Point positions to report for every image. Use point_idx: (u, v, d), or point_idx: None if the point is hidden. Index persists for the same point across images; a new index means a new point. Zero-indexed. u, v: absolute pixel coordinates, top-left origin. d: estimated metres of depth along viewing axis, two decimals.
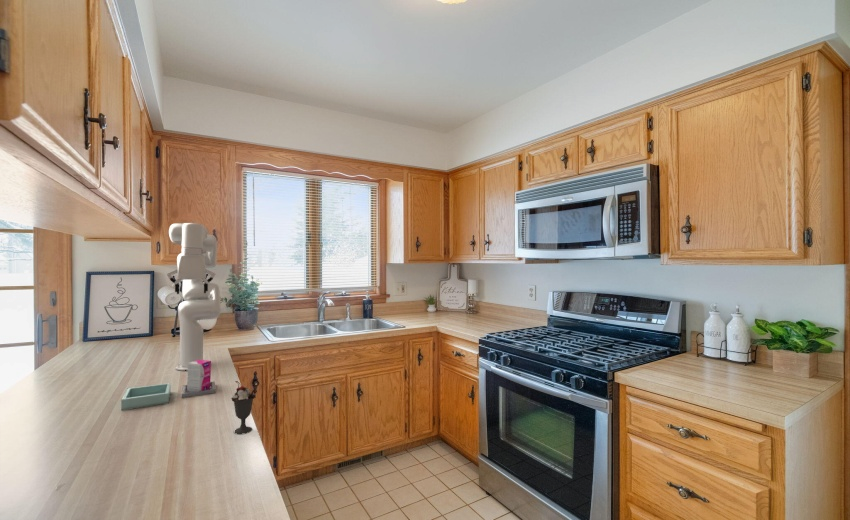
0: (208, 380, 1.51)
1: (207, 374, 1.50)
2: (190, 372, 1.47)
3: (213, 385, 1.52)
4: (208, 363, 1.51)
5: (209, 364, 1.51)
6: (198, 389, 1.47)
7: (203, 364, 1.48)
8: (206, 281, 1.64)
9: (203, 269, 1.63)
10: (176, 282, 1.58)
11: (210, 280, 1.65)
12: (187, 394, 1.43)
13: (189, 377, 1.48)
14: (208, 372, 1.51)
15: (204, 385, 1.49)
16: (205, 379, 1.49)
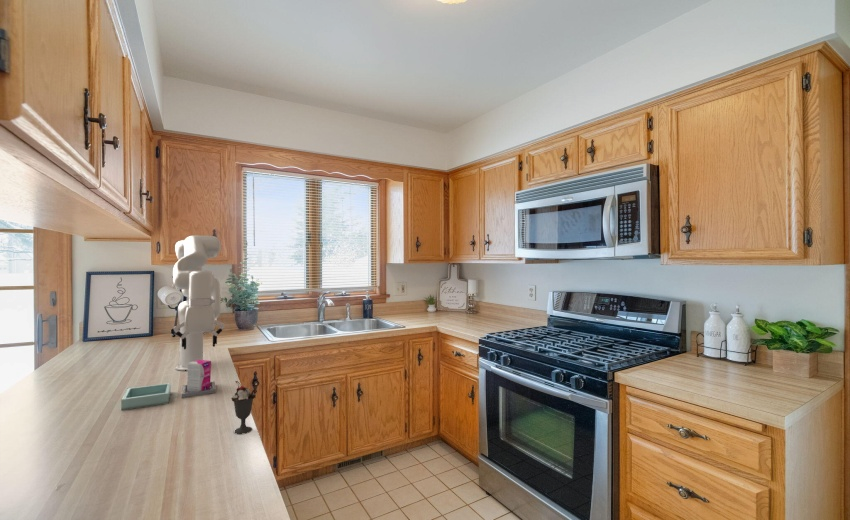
0: (208, 380, 1.51)
1: (207, 374, 1.50)
2: (190, 372, 1.47)
3: (213, 385, 1.52)
4: (208, 363, 1.51)
5: (209, 364, 1.51)
6: (198, 389, 1.47)
7: (203, 364, 1.48)
8: (215, 333, 1.51)
9: (212, 321, 1.50)
10: (183, 336, 1.46)
11: (219, 332, 1.53)
12: (187, 394, 1.43)
13: (189, 377, 1.48)
14: (208, 372, 1.51)
15: (204, 385, 1.49)
16: (205, 379, 1.49)
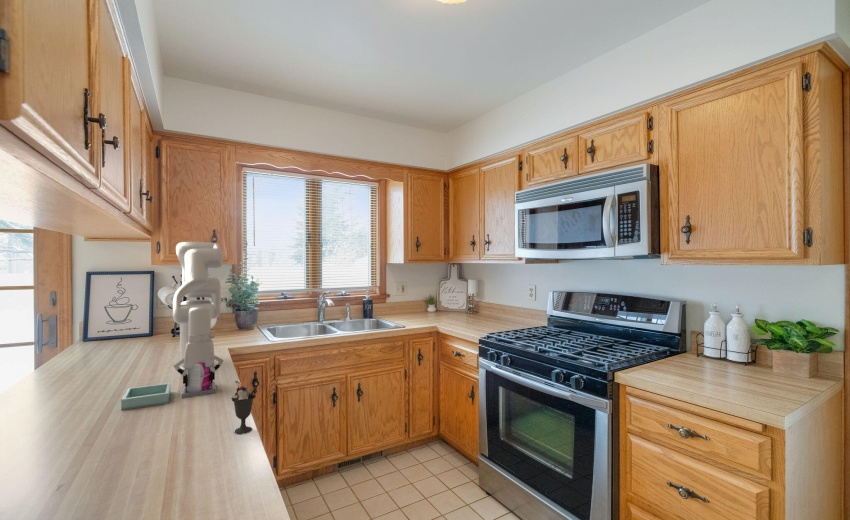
0: (208, 380, 1.51)
1: (207, 374, 1.50)
2: (190, 372, 1.47)
3: (213, 385, 1.52)
4: None
5: None
6: (198, 389, 1.47)
7: (203, 364, 1.48)
8: (213, 369, 1.51)
9: (211, 356, 1.50)
10: (184, 373, 1.46)
11: (217, 368, 1.52)
12: (187, 394, 1.43)
13: (189, 377, 1.47)
14: (208, 372, 1.51)
15: (204, 384, 1.49)
16: (205, 379, 1.49)
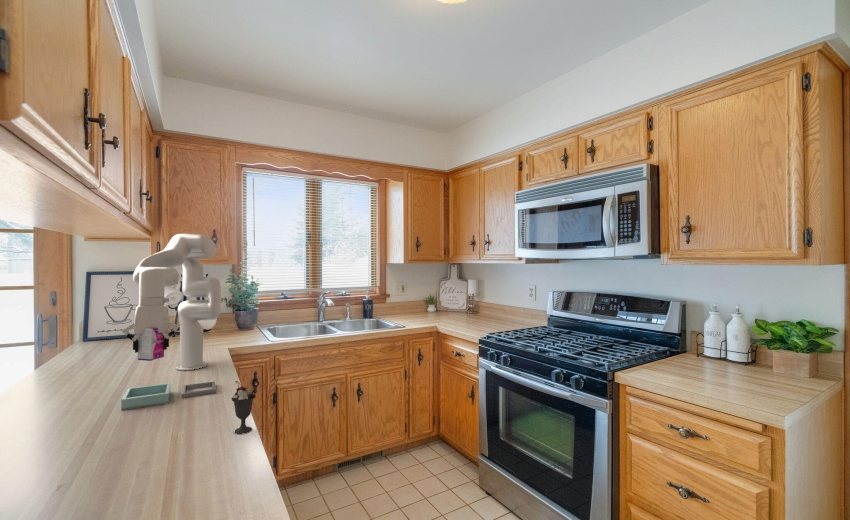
0: (161, 347, 1.41)
1: (160, 340, 1.40)
2: (141, 338, 1.37)
3: (213, 385, 1.52)
4: None
5: None
6: (149, 356, 1.37)
7: (155, 329, 1.38)
8: (167, 336, 1.41)
9: (165, 321, 1.40)
10: (134, 339, 1.36)
11: (172, 334, 1.43)
12: (187, 394, 1.43)
13: (140, 343, 1.37)
14: (161, 339, 1.41)
15: (156, 351, 1.39)
16: (157, 345, 1.39)
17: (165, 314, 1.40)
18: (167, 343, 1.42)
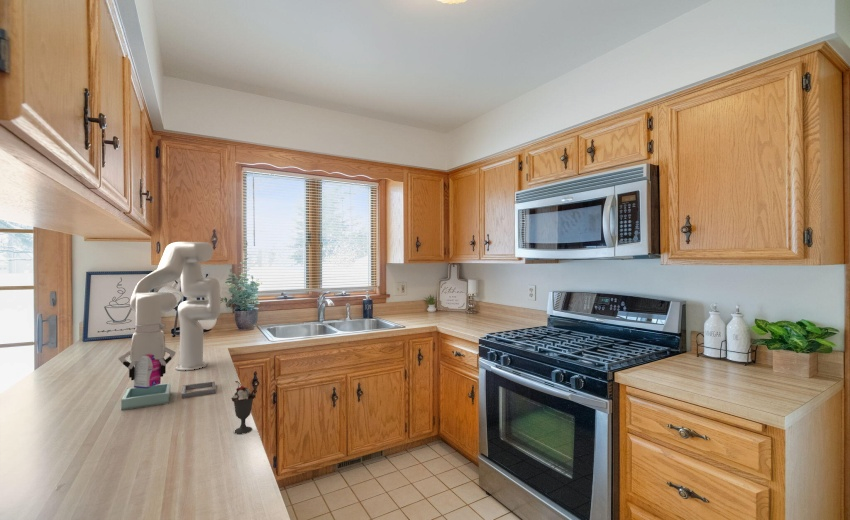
0: (157, 373, 1.40)
1: (156, 367, 1.40)
2: (137, 365, 1.37)
3: (213, 385, 1.52)
4: None
5: None
6: (145, 383, 1.36)
7: (151, 356, 1.37)
8: (163, 362, 1.41)
9: (161, 348, 1.40)
10: (130, 366, 1.36)
11: (168, 361, 1.42)
12: (187, 394, 1.43)
13: (136, 370, 1.37)
14: (157, 366, 1.40)
15: (153, 379, 1.38)
16: (154, 372, 1.39)
17: (162, 341, 1.40)
18: (164, 370, 1.41)
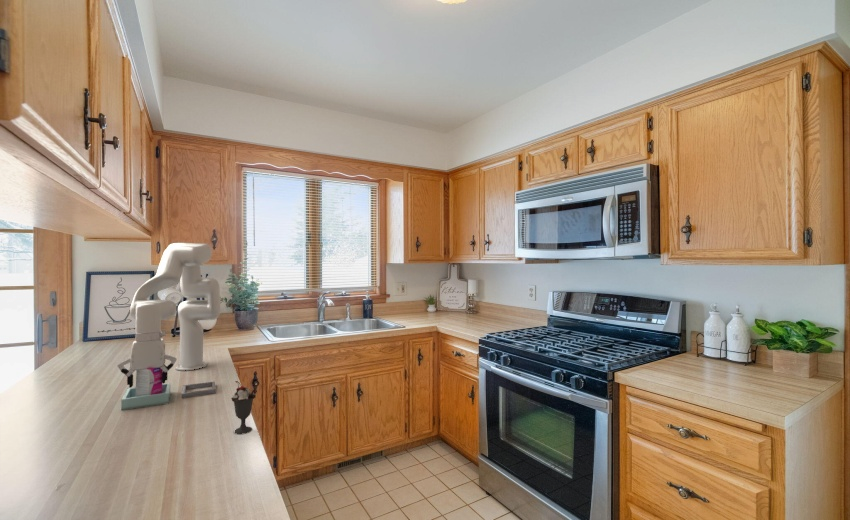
0: (159, 386, 1.41)
1: (158, 380, 1.40)
2: (139, 378, 1.37)
3: (213, 385, 1.52)
4: (159, 368, 1.40)
5: (160, 369, 1.41)
6: None
7: (153, 370, 1.38)
8: (165, 369, 1.41)
9: (161, 356, 1.40)
10: (128, 374, 1.35)
11: (170, 367, 1.42)
12: (187, 394, 1.43)
13: (137, 384, 1.37)
14: (159, 379, 1.40)
15: (154, 392, 1.39)
16: (155, 385, 1.39)
17: (161, 349, 1.40)
18: (165, 376, 1.41)
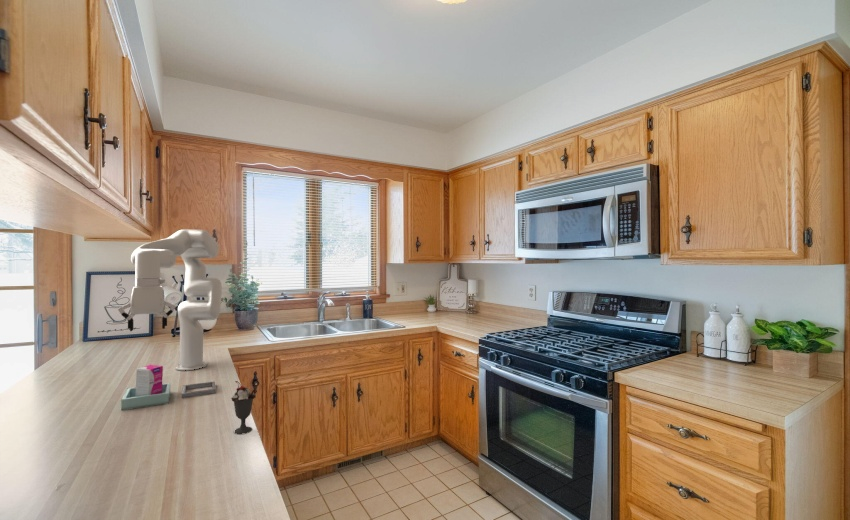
0: (159, 386, 1.41)
1: (158, 380, 1.40)
2: (139, 378, 1.37)
3: (213, 385, 1.52)
4: (159, 368, 1.40)
5: (160, 369, 1.41)
6: None
7: (153, 370, 1.38)
8: (165, 315, 1.45)
9: (161, 302, 1.43)
10: (129, 318, 1.39)
11: (169, 313, 1.46)
12: (187, 394, 1.43)
13: (137, 384, 1.37)
14: (159, 379, 1.40)
15: (154, 392, 1.39)
16: (155, 385, 1.39)
17: (161, 295, 1.43)
18: (165, 322, 1.45)
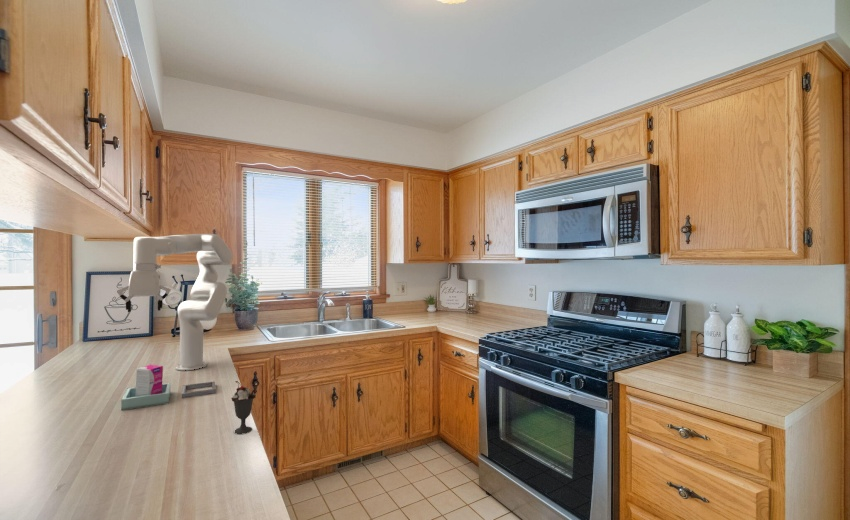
0: (159, 386, 1.41)
1: (158, 380, 1.40)
2: (139, 378, 1.37)
3: (213, 385, 1.52)
4: (159, 368, 1.40)
5: (160, 369, 1.41)
6: None
7: (153, 370, 1.38)
8: (160, 298, 1.56)
9: (157, 285, 1.55)
10: (127, 299, 1.50)
11: (165, 296, 1.57)
12: (187, 394, 1.43)
13: (137, 384, 1.37)
14: (159, 379, 1.40)
15: (154, 392, 1.39)
16: (155, 385, 1.39)
17: (157, 279, 1.55)
18: (160, 304, 1.56)
